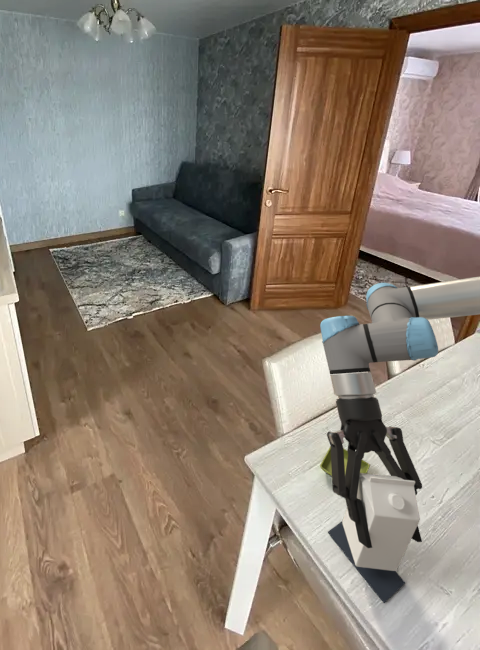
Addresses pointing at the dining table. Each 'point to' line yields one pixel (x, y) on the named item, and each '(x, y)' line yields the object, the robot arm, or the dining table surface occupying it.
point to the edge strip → (378, 579)
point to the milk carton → (384, 521)
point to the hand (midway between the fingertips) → (390, 541)
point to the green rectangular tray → (327, 463)
